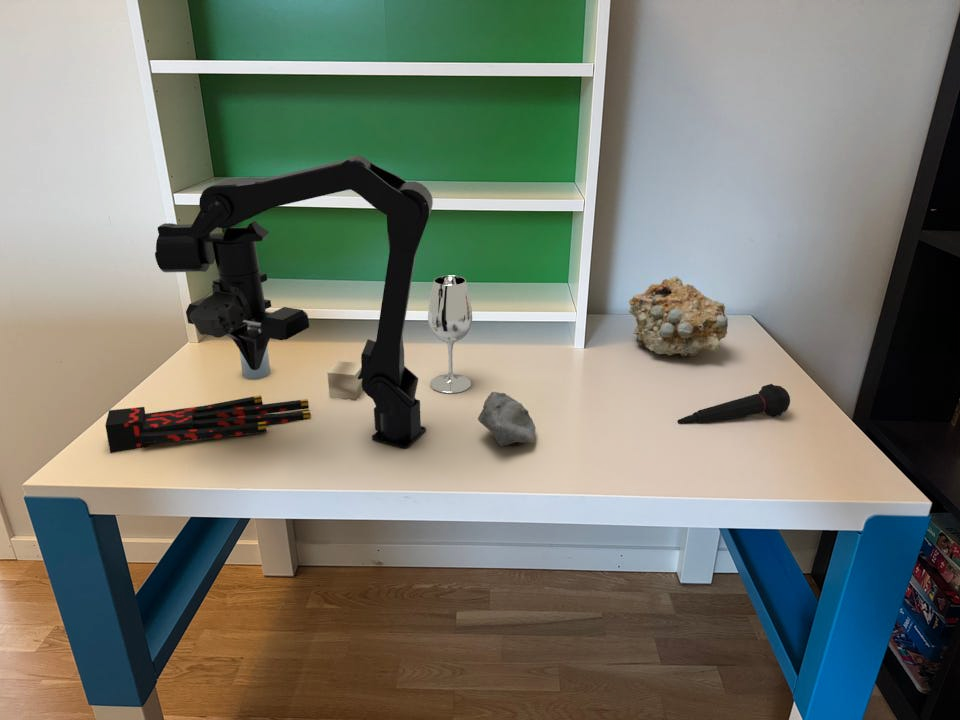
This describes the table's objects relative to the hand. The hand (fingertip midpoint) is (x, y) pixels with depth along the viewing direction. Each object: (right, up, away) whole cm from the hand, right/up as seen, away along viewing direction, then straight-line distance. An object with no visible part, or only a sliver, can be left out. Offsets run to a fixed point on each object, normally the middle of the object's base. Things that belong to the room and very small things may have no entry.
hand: (255, 369), depth 105 cm
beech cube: (+11, -5, +18) cm, 22 cm away
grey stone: (+38, -12, +4) cm, 40 cm away
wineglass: (+29, -3, +22) cm, 36 cm away
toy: (-8, -10, +6) cm, 15 cm away
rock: (+74, +3, +38) cm, 84 cm away
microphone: (+77, -8, +12) cm, 78 cm away
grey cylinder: (-8, -1, +25) cm, 26 cm away
